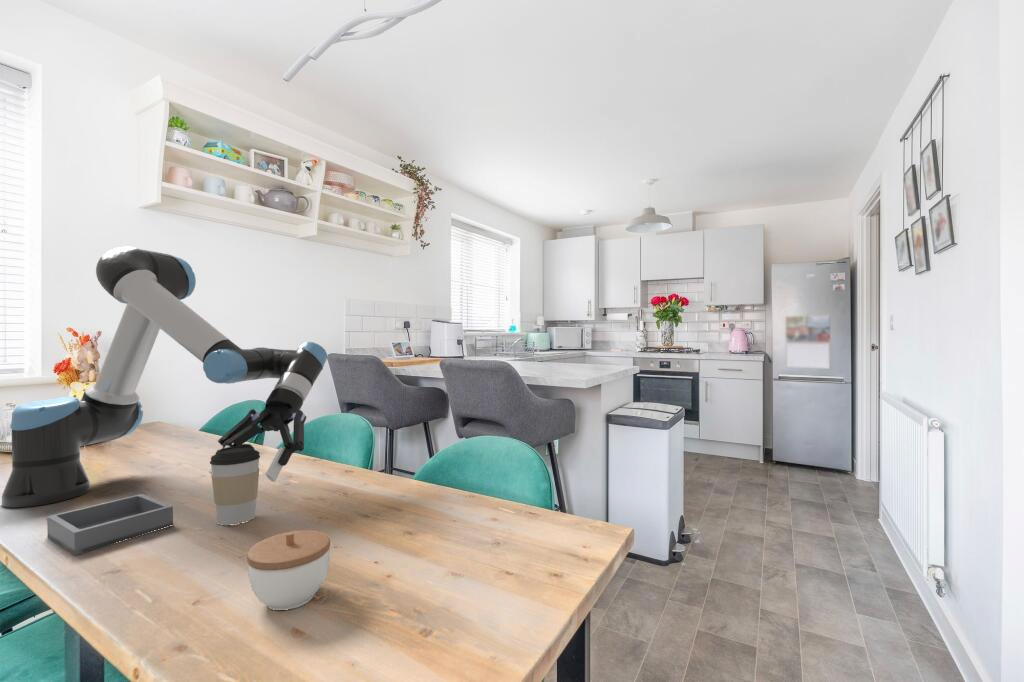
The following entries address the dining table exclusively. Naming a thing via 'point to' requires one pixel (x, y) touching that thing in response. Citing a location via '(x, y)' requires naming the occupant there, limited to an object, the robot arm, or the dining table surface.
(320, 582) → the lidded jar
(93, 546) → the tray
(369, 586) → the dining table surface
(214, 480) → the coffee cup
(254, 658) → the dining table surface
